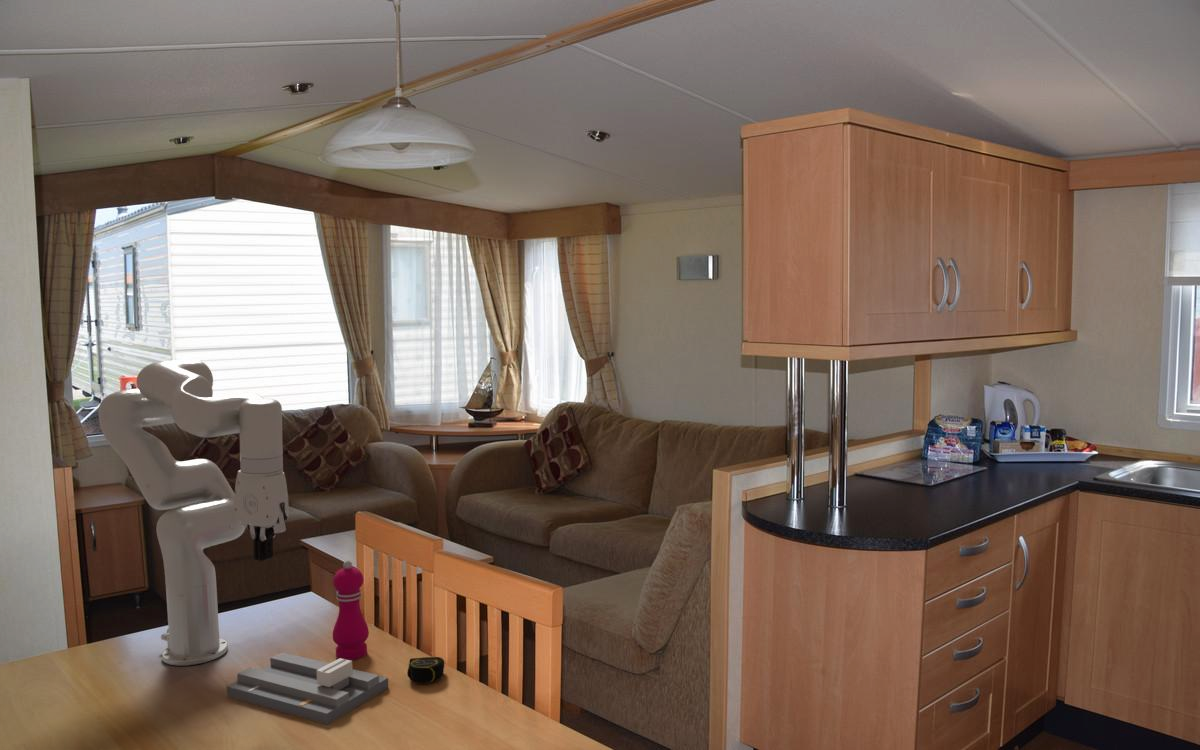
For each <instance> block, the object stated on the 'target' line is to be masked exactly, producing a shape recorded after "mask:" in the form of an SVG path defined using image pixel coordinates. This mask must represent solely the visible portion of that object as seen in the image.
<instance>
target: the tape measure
mask: <svg viewBox="0 0 1200 750" xmlns="http://www.w3.org/2000/svg"><path fill="white" fill-rule="evenodd" d="M444 669H445V661H444V659H443V657H440V656H439V657H438V656H428V657H426V656H425V657H415V658H410V659H409V663H408V668H407V677H408V678H409V680H410V681H411V682H412V683H415V684H430V683H431V684H432V683H434V682H437V681H439V680H441V678H443V676H444Z"/></svg>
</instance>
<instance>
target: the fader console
mask: <svg viewBox="0 0 1200 750" xmlns="http://www.w3.org/2000/svg"><path fill="white" fill-rule="evenodd" d="M269 661H270V665H268V666H266V667H264V668H261V669H257V668H254V667H248V668H245V669H243V670H241V671H240V672H237V673H236V677H237V681H235V682H233V683H230V684H229V685H227V686H226V697H228V698H231V699H235V700H238V701H241V702H245V703H249V704H252V705H256V706H259V707H264V708H265V709H266V708H267V709H270V710H274V711H278V712H281V713H284V714H289V715H292V716H295V717H300V718H303V719H306V720H309V721H314V722H318V723H320V724H324V725H329V724H331V723H333V722H334V721H336V720H338V719H339V718H341V717H343V716H344V715H346V714H348V713H350V711H353V710H354V709H356V708H357V707H359V706H360V705H361V706H362V705H363V704H364V703H366V702H367V701H369V700H372V699H373V698H374V697H376V696H378V695H379V694H381V693H382V692H384V691H386V690H387V689H389V677H385V676H382V675H379V674H375V673H371V672H367V671H362V670H357V669H353V668H352V671H353V674H352V675H351V676H349V685H348V686H346V687H344V688H343V689H341V690H337V689H333V688H329V687H325V686H321V685H319V684H317V672H316V670H318V669H320V668H322V667H324V666H326V665H328V664H330V663H329V662H324V661H320V660H316V659H312V658H307V657H304V656H300V655H295V654H291V653H286V652H280V653H277V654H275V655H273V656H271V657H270V659H269Z"/></svg>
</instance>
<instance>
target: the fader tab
mask: <svg viewBox="0 0 1200 750" xmlns="http://www.w3.org/2000/svg"><path fill="white" fill-rule="evenodd" d="M352 669H353V660H346V659H341V658H339V659H338V658H336V660H334V661H332V662H330V663H329V664H328V665H326V666H324V667H322V668H320V669H318V670H316V672H317V684H319V685H321V686H325V687H329V688H333V689H337V690H341V689H343V688H344V687H346V686H348V685H349V676H351V675H352V674H353V671H352Z"/></svg>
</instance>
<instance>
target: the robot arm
mask: <svg viewBox="0 0 1200 750" xmlns="http://www.w3.org/2000/svg"><path fill="white" fill-rule="evenodd" d="M213 377H214V376H213V373H212V371H211V368H210V367H209V366H208V365H207V364H206V363H204V362H203V361H202V360H198V359H195V358H193V359H188V358H187V359H178V360H177V359H176V360H165V361H163V360H162V361H157V362H151V363H150V364H148V365H145V366H144V367H143V368H142V369H141V370H140V371H139V372H138V375H137V377H136V387H137V388H131V389H130V388H129V389H128V388H127V389H123V390H119V391H115V392H113V393H110V394H108V395H106V396H105V397H104V398H103V399H102V400H101V402H100V403H99V406H98V423H99V426H100V429H101V432H102V435H103V436H104V438H105V440H106V442H107V443H108V444H109V446H110V447H111V448H112V450H114V451H115V452H116V454H117V455H118V456H119V458H121V460H122V461H123V462H124V464H125V465H126V466H127V468H128V470H129V473H130V474H131V476H132V477H133V480H134V481H135V483H136V484H137V487H138V488H139V490H140V492H141V494H142V496H143V498H144V499H145V500H146V502H147V504H148V505H149V506H150V507H151V508H152V509H154V510H158V511H165V512H164V513H163V514H161V516H160V517H159V519H158V520H157V523H156V536H157V540H158V544H159V547H160V550H161V551H160V553H161V555H162V560H163V561H162V562H163V569H164V580H165V592H166V609H167V611H166V612H167V623H168V624H167V625H168V628H167V630H166V633H165V632H163V633H162V634H161V635H160V636H161V637H160V638H161V640H162V641H166V642H167V643H166V644H167V647H166V648H165V649H164V650H163V651H162V653H161V659H162V662H164V663H165V664H167V665H171V666H176V667H178V666H180V667H182V666H193V665H198V664H205V663H207V662H211V661H213V660H216V659H218V658H220V657H221V656H223V655H224V654H225V653H226V652H228V649H229V645H228V644H229V643H228V642H227V640H226V639H224V638H220V626H219V623H220V622H219V612H218V611H219V610H218V609H219V608H218V592H217V591H218V590H217V578H216V569H215V566H214V564H213V562H212V561H211V559H210V558H209V557H208V556H207V555H206V554H205V553H204V549H206V548H210V547H212V546H216V545H219V544H224V543H227V542H231V541H234V540H236V539H238V538H240V537H241V536H242V535H243V533H244V532H245V530H246V528H247V529H248V531H249V533H250V538H251V539H252V540H253V560H255V561H259V562H263V561H266V560H269V559H271V558H272V557H274V538H275V537H276V535H277V534H280V533H284V532H286V531H287V528H286V523H287V522H288V521H289V513H290V511H289V510H290V509H289V493H288V487H287V486H288V485H287V479H286V475H285V472H284V463H283V462H284V461H283V460H284V458H283V453H284V451H283V447H284V446H283V407H282V405H281V403H280V401H279V400H276V399H275V398H274V399H272V398H264V397H262V396H261V395H258V394H256V393H252V392H243V393H235V394H225V395H216V396H213V393H214V392H213V385H214V378H213ZM169 424H170V425H171V424H176V426H177V427H178V428H179V429H181V430H182V431H184V432H187V433H188V434H191V435H193V436H196V437H200V438H217V437H222V436H227V435H228V436H229V435H234V434H239V455H240V456H239V463H240V469H239V470H238V471H237V474H236V478H235V487H234V490H233V489H232V487H231V485H230V484H229V482H228V480H227V478H226V477H225V474H224V473H223V471H222V470H221V469H220V467H219V466H218V465H217V464H216V463H215V462H213V461H212V460H209V459H207V458H195V459H189V460H182V461H181V460H180V461H179V460H177V459H175V457H173V455H172V453H171V451H170V450H169V448H168V446H167V445H166V444H165V443H164V442H163V441H162V440H160V438H158V437H156V436H155V435H154V434H151V433H149V432H148V431H146V430H144V428H148V427H155V426H163V425H169Z"/></svg>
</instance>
